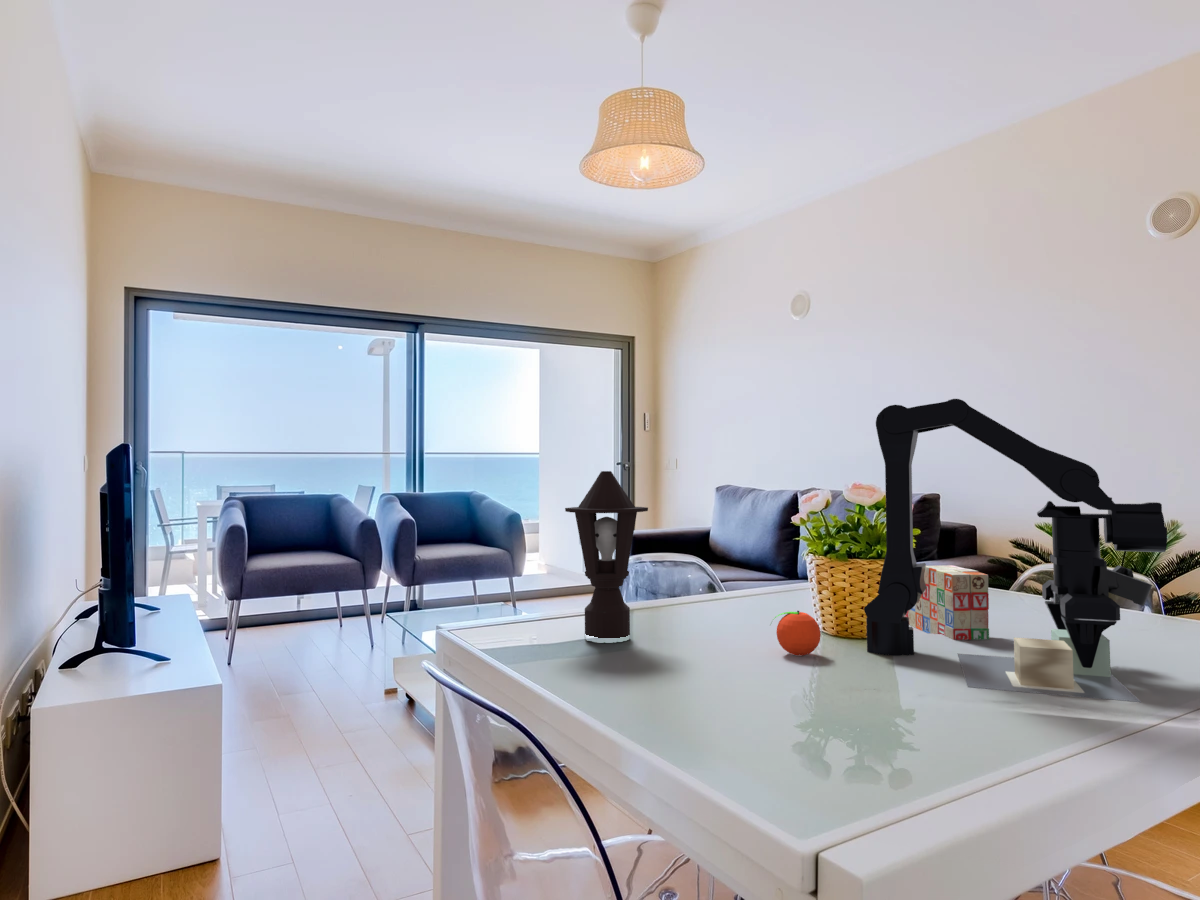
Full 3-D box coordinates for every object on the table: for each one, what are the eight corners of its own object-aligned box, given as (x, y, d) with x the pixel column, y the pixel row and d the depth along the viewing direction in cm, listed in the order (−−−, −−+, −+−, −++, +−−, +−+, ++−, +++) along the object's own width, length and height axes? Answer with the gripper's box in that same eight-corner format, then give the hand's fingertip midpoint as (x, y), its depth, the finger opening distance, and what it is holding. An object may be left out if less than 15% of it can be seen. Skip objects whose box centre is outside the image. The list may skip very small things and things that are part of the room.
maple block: (1020, 684, 99) (1019, 646, 99) (1014, 673, 104) (1013, 637, 104) (1073, 689, 96) (1072, 650, 97) (1064, 677, 102) (1063, 640, 102)
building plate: (967, 694, 98) (967, 686, 98) (957, 659, 117) (957, 652, 117) (1141, 710, 91) (1141, 701, 91) (1101, 670, 110) (1100, 663, 110)
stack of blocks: (901, 622, 148) (900, 559, 148) (933, 622, 148) (931, 559, 149) (953, 646, 127) (951, 573, 127) (990, 646, 127) (988, 573, 127)
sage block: (1060, 673, 105) (1058, 637, 105) (1052, 663, 110) (1051, 628, 111) (1110, 677, 103) (1109, 640, 103) (1100, 666, 108) (1098, 631, 108)
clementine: (767, 658, 119) (767, 613, 119) (772, 648, 126) (771, 605, 126) (820, 661, 117) (819, 615, 117) (822, 651, 123) (821, 608, 123)
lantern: (563, 631, 141) (562, 471, 142) (641, 629, 143) (640, 471, 144) (569, 649, 126) (567, 471, 127) (655, 646, 128) (653, 470, 129)
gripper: (1165, 558, 96) (1170, 682, 95) (1125, 545, 113) (1128, 650, 112) (1064, 555, 100) (1068, 674, 99) (1040, 543, 117) (1043, 644, 116)
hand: (1079, 659), depth 107 cm, fingers open, 9 cm apart
